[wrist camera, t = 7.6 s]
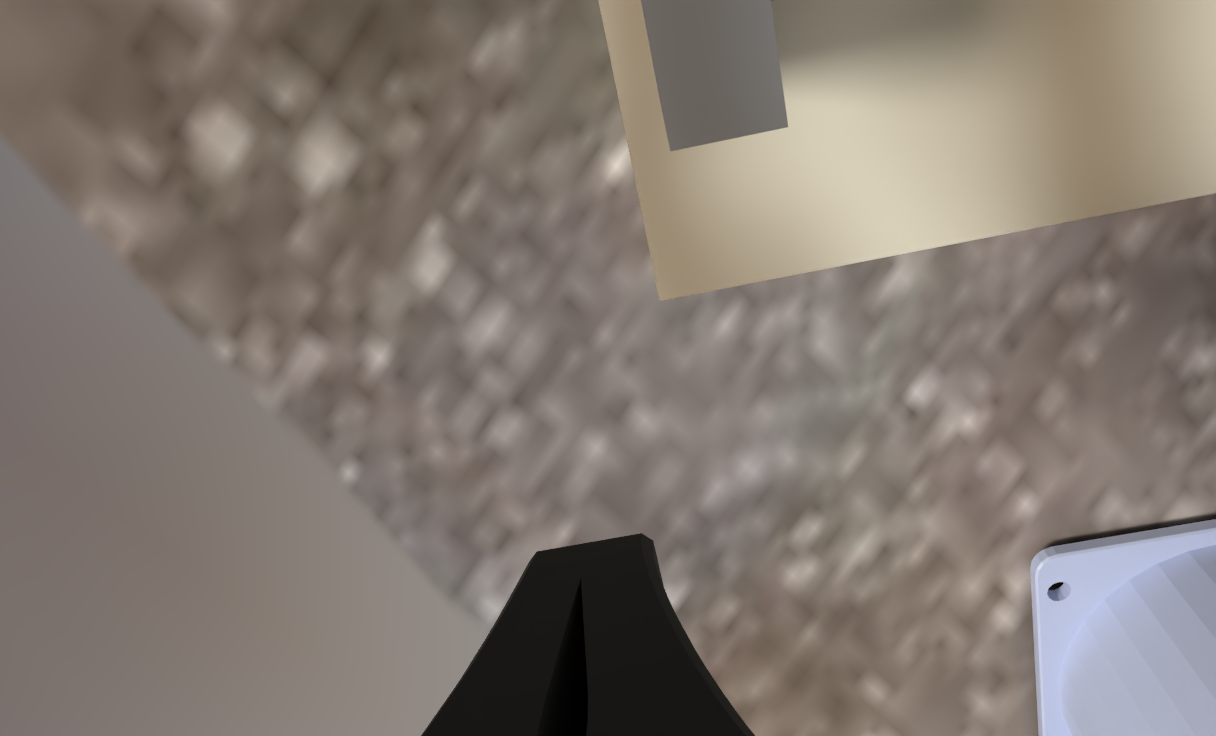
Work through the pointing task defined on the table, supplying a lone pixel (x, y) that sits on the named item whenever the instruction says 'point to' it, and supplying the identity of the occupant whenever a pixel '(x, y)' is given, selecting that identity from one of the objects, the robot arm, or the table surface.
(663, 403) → the table surface
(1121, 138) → the rod and block board
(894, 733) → the table surface
